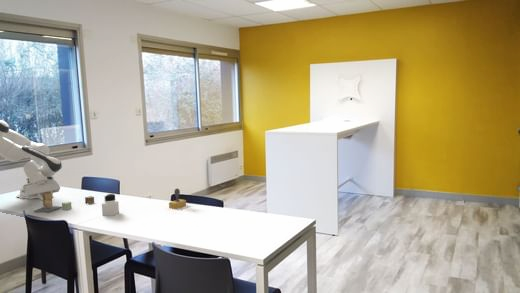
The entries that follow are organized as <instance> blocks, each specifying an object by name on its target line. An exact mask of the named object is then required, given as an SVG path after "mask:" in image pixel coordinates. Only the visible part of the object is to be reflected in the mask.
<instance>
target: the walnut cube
mask: <svg viewBox="0 0 520 293" xmlns="http://www.w3.org/2000/svg"><path fill="white" fill-rule="evenodd" d="M84 202H85V204H87V203H88V205H90V204H94V203H95V197H94V196H92V195H90V196H86V197H84Z"/></svg>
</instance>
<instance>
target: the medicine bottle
mask: <svg viewBox="0 0 520 293" xmlns="http://www.w3.org/2000/svg"><path fill="white" fill-rule="evenodd" d="M103 200H104V202H103V203H101V211H102V212H101V213H102V216H104V217H105V216H106V217H107V216H112V217H113V216H116V215H117V214H119V213H120V210H119V209H120V207H119V201H118V200H116V194H114V193H108V194H105V195H104V199H103Z"/></svg>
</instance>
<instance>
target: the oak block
mask: <svg viewBox="0 0 520 293" xmlns="http://www.w3.org/2000/svg"><path fill="white" fill-rule="evenodd" d="M42 197H44V198H45V200H43V201H42V207H50V206H54V205H53V199H52V193H44V194H42Z"/></svg>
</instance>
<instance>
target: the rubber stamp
mask: <svg viewBox="0 0 520 293" xmlns="http://www.w3.org/2000/svg"><path fill="white" fill-rule="evenodd" d="M180 194H181V192H180V188H175V189H174V195H175V197H176V198H175V199H176V200H173V201H169V203H168V208H169V209H171V208H172V210H178V209H181V208H183V207H186V206H187V200H185V199H182V198H181V199H180V198H179V196H180ZM177 208H178V209H177Z"/></svg>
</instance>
